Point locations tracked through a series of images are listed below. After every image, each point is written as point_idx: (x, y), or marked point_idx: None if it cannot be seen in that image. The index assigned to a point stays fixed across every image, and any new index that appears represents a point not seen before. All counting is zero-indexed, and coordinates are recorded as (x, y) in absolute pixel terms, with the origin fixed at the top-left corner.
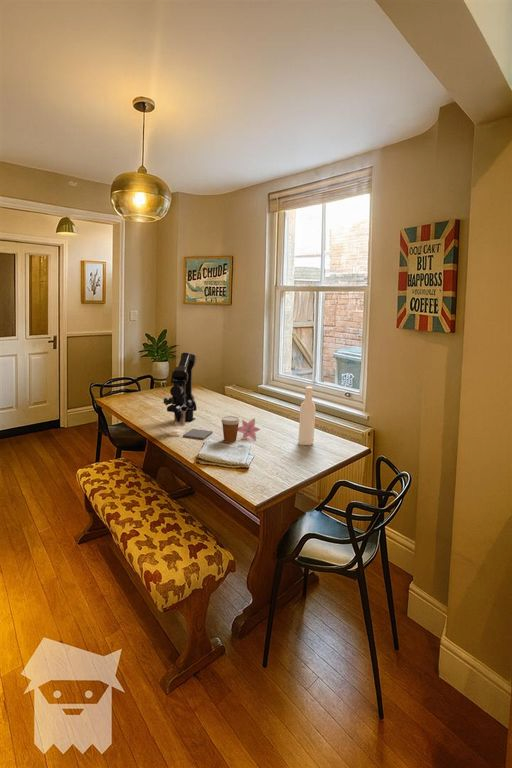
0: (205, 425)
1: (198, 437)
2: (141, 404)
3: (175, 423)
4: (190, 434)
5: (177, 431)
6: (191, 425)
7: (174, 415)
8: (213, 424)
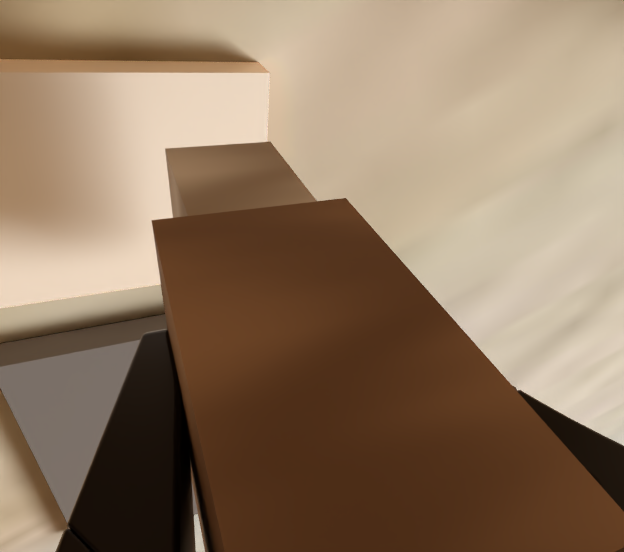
0: (548, 287)
1: (64, 513)
2: None
3: (175, 195)
4: (102, 414)
5: (126, 178)
6: (559, 153)
7: (188, 399)
8: (572, 324)
